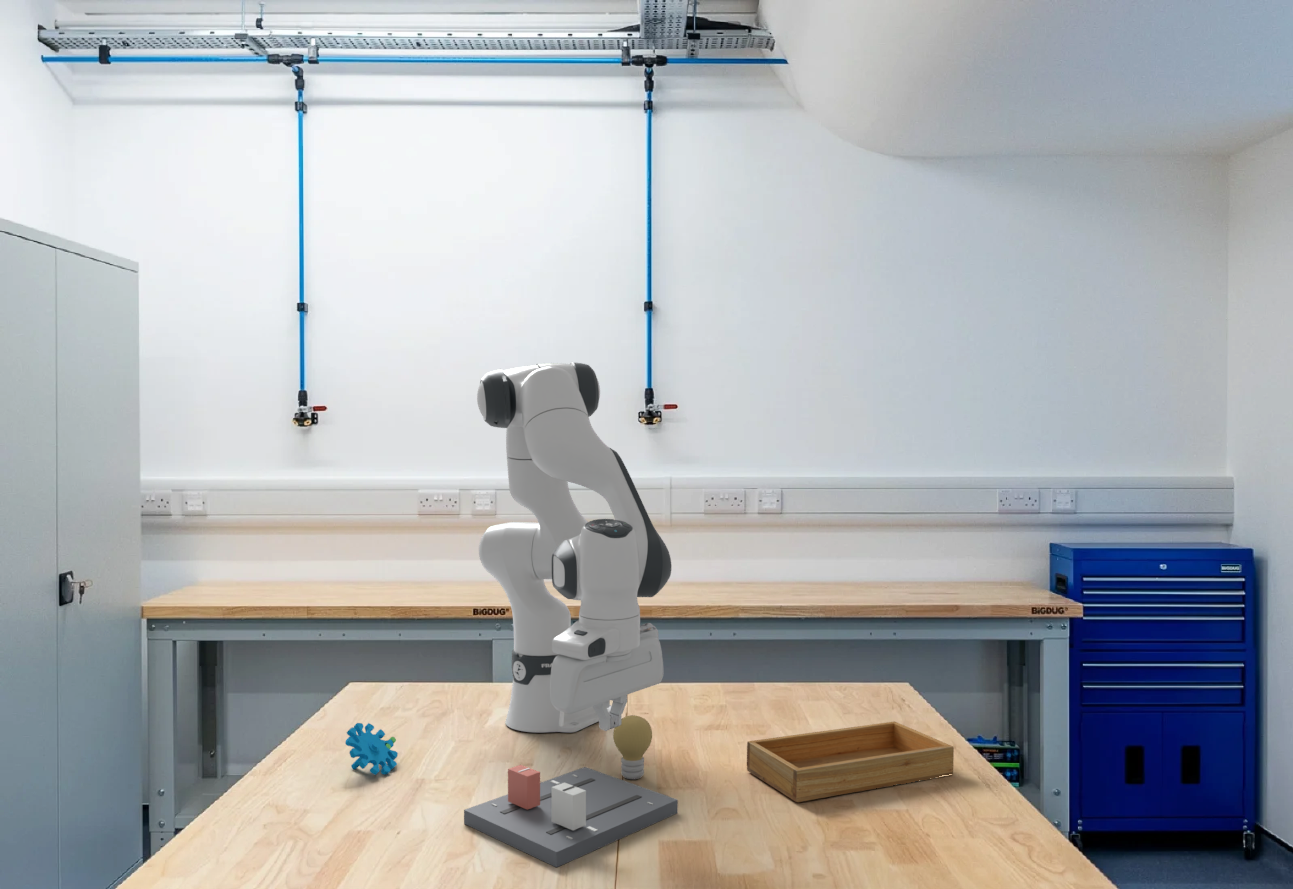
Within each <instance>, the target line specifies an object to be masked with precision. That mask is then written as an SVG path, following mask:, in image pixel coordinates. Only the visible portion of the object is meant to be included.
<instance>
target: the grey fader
mask: <svg viewBox="0 0 1293 889" xmlns="http://www.w3.org/2000/svg"><path fill="white" fill-rule="evenodd" d="M552 822H554V823H556V824H559V825H561V826H563V827H566V828H568V829H571V830H576V829H578V828H580V827H583V826H585V825H586V790H583V789H580V788H578V787H575V786H573V785H570V784H567V783H565V782H564V783H562V784H559V785H556V786H553V787H552Z"/></svg>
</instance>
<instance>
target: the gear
mask: <svg viewBox="0 0 1293 889" xmlns="http://www.w3.org/2000/svg"><path fill="white" fill-rule="evenodd" d="M363 729H364V730H365V732H364V731H363ZM374 729H375V725H373V724H371V723H369V722H368V723H367V724H366V725H365V726H364V724H363V723H361V722H356V723H355V724H354V725H353V727H350V728H349V730H347V731H346V735H347V736H348V737H347V738H346V740H345V746H348V747H352V748H351V750H349V756H350V758H352V759H355V758H357V759H356V760H355V761H354V762H353V763H352V764H351V769H353V770H356V769H358V767H360V768H361V769H365V768H366V767H367V766H368V764H371V765H373V766H372V767H370V769H369V772H370V773H371V774H372V775H375V776H376V775H377V774H378V773H379V772H380V773H381V774H382V775H384V776H385V775H388V774H389V773H390V772H391V770H393V769H394V768H395V767H396V766H397V765H398V763H397V761H396V759H397V758H398V754H399V753H398V751H396V750H393V749H392V748H393V747H394V746H395V745H394V744H395V743H396V741H397V739H396V737H394V736H391V737H390V738H389V739H387V740H384V739H382V738H383V737H385V735H386V733H385V731H383V730H382V729H381V728H380V729H378V730H377V732H376V733H375V734H374V733H372V731H373V730H374ZM379 765H380V766H379ZM380 767H381V769H380Z"/></svg>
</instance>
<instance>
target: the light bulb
mask: <svg viewBox="0 0 1293 889" xmlns="http://www.w3.org/2000/svg"><path fill="white" fill-rule="evenodd" d="M612 737H613V742H614V745H615V746H616V748H617V750H618V752H619V753H620V754H621V756H622V757H621V758H620V762H621V765H620V766H621V770H620V772H621V773H620V774H621V775H622V777H624V778H625V779H627V780H638V779H640V778H642V777H643V776H644V774H645V769H644V768H645V759H644V756H643V755H644V754H646V751H647V750H648V749H649V747H650V746H651V743H652V739H653V731H652V727H651V724H650V723H649V721H648V720H647V719H645V718H644V717H642V716H639V715H626V716H624V717H621V725H620V726H618V727H615V728H613V733H612Z"/></svg>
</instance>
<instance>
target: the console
mask: <svg viewBox="0 0 1293 889" xmlns="http://www.w3.org/2000/svg"><path fill="white" fill-rule="evenodd" d="M564 782H565V783H567V784H570V785H573V786H575V787H578V788H580V789H583V790H586V825H585V826H583V827H580V828H578V829H576V830H571V829H568V828H566V827H563V826H561V825H559V824H556V823H554V822H552V787H553V786H556V785H559V784H562V783H564ZM678 802H679V800H678V799H677V798H674V797H671V796H669V795H666V794H663V793H660V792H657V791H654V790H651V789H649V788H646V787H643V786H640V785H638V784H634V783H632V782H629V781H626V780H623V779H621V778H617V777H615V776H613V775H609V774H606V773H604V772H602V771H598V770H595V769H592V768H589V767H587V766H583V767H580V768H577V769H575V770H572V771H569V772H567V773H564V774H560V775H558V776H555V777H552V778H550V779H546V780H544V781H540V805H539V806H536V807H533V808H531V809H528V810H527V809H524V808H522V807H520V806H517V805H515V804H513V803H510V802H508V793H507V794H505V795H502V796H499V797H497V798H493V799H491V800H488V801H485V802H482V803H479V804H477V805H473V806H471V807H468V808H466V809H463V824H464V825H467V827H470V828H473V829H474V830H477V831H479V832H481V833H483V834H485V835H487V836H489V837H492V838H494V839H496V840H498V841H500V842H502V843H504V844H506V845H508V846H510V847H513V848H515V849H517V850H518V851H520V852H523V853H526V854H528V855H529V856H532V857H533V858H536V859H537V860H540V861H541V862H544V863H546V864H549V865H550V866H552V867H555V868H558V867H561V866H563V865H565V864H567V863H569V862H572V861H575V860H576V859H579V858H580V857H583V856H585V855H587V854H589V853H592V852H594V851H596V850H598V849H601V848H602V847H605V846H607V845H609V844H612V843H614V842H616V841H618V840H621V839H624V838H625V837H628V836H629V835H632V834H634V833H636V832H639V831H640V830H641V831H642V830H643V829H645V828H647V827H650V826H652V825H654V824H657V823H659V822H661V821H663V820H665V819H667V818H670V817H672V816H674V815H676V814H678V812H679V811H678V810H679V807H678V806H679V803H678Z"/></svg>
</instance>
